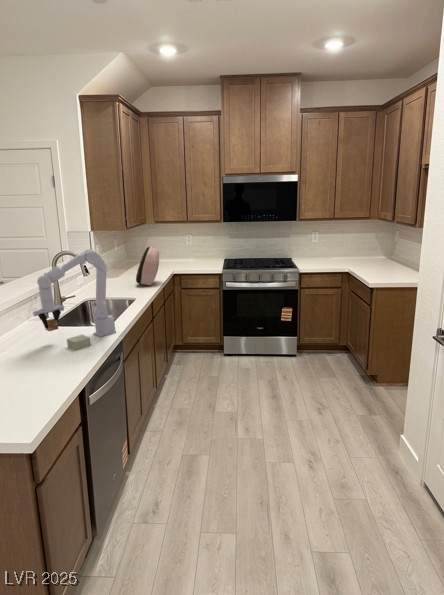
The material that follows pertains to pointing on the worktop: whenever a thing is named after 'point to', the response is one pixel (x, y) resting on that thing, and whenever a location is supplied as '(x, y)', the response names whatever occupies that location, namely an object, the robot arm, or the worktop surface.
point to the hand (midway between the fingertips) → (51, 326)
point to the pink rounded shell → (148, 266)
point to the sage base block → (78, 342)
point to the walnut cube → (52, 325)
